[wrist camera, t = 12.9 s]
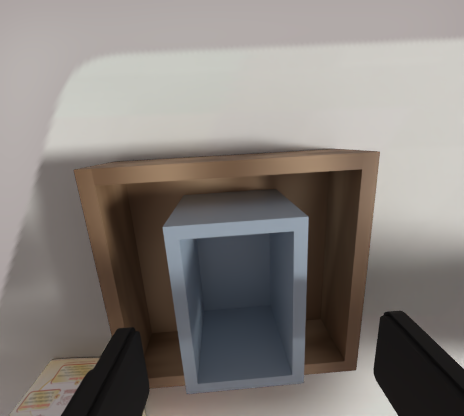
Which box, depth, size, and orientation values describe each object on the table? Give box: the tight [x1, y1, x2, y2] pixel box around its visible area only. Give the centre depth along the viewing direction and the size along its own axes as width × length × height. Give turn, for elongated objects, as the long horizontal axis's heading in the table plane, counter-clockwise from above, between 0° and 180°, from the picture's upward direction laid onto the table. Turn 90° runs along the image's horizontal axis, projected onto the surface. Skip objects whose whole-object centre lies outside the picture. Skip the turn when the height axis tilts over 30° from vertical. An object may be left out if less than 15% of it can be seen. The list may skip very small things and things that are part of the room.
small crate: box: [163, 189, 309, 394], centre depth 14 cm, size 6×9×6 cm, turn 3°
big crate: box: [74, 149, 380, 389], centre depth 15 cm, size 15×14×4 cm
